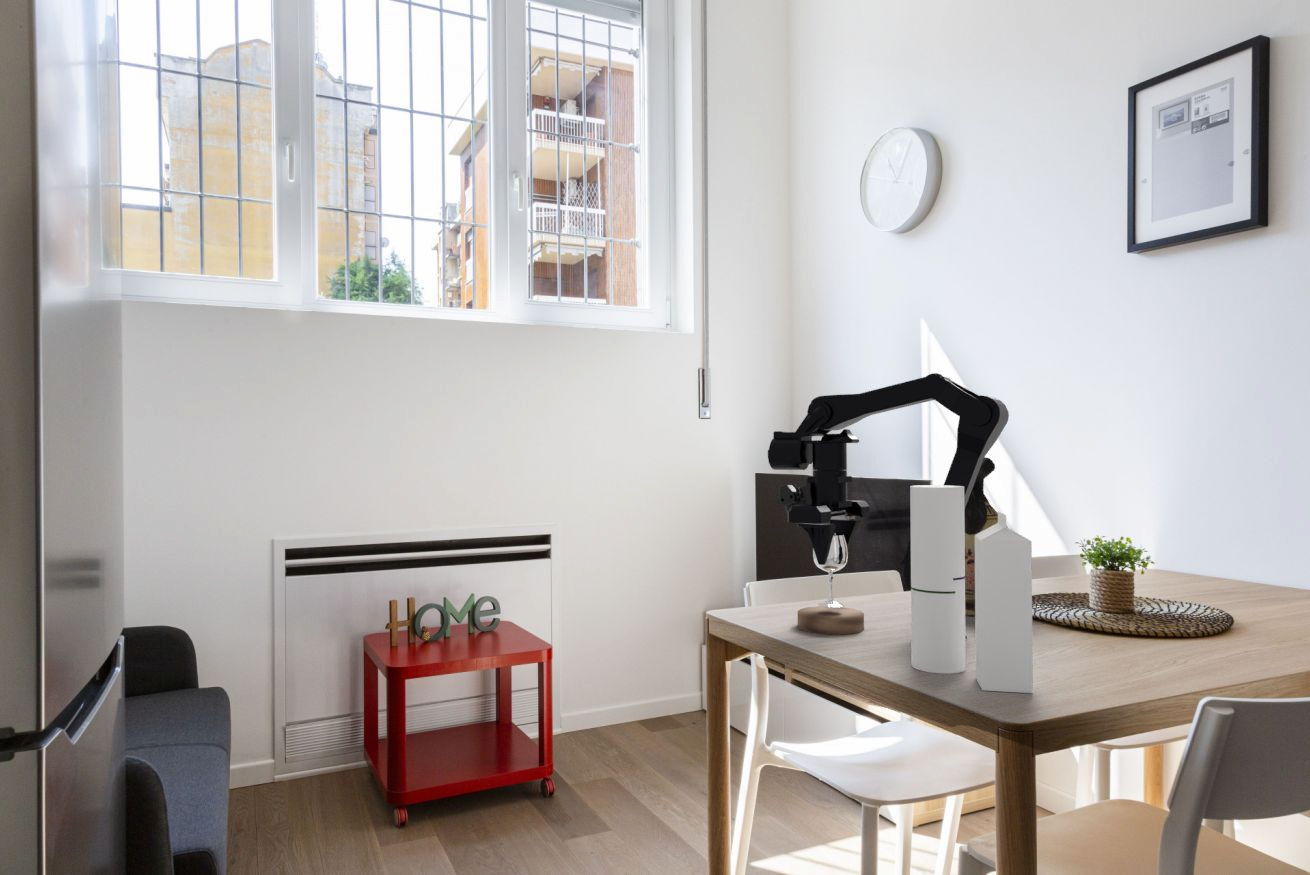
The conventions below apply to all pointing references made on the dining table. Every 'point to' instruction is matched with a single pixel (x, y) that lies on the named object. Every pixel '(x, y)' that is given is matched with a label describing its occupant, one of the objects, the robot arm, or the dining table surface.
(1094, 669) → the dining table surface
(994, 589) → the milk
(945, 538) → the cylindrical container
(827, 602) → the wineglass
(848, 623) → the walnut riser
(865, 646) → the dining table surface
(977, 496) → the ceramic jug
